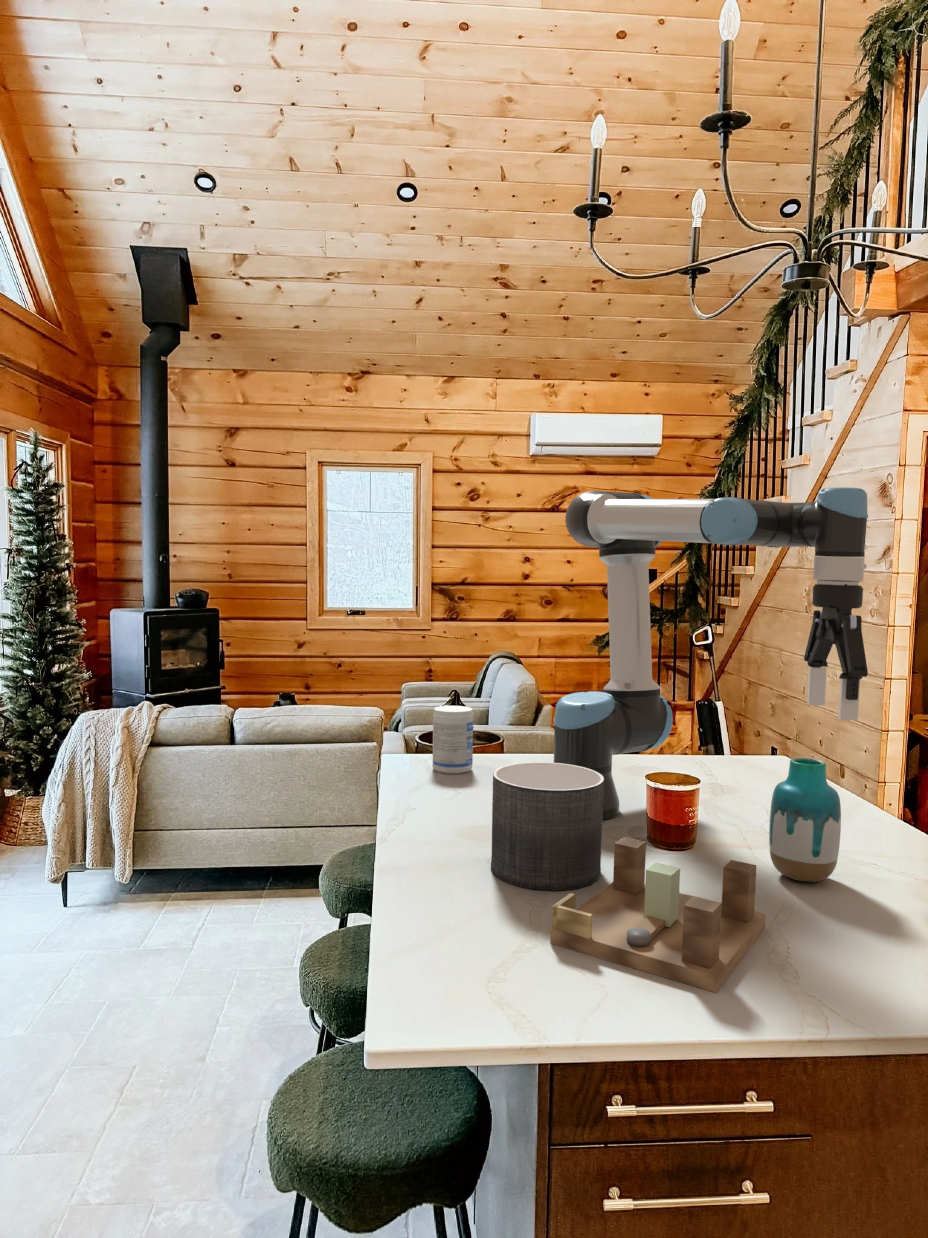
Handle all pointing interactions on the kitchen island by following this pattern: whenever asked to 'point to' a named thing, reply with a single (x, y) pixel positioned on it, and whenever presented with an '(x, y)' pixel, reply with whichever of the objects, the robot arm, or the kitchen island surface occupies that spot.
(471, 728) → the supplement tub
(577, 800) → the planter
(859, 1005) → the kitchen island surface
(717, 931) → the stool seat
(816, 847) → the vase
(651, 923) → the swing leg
